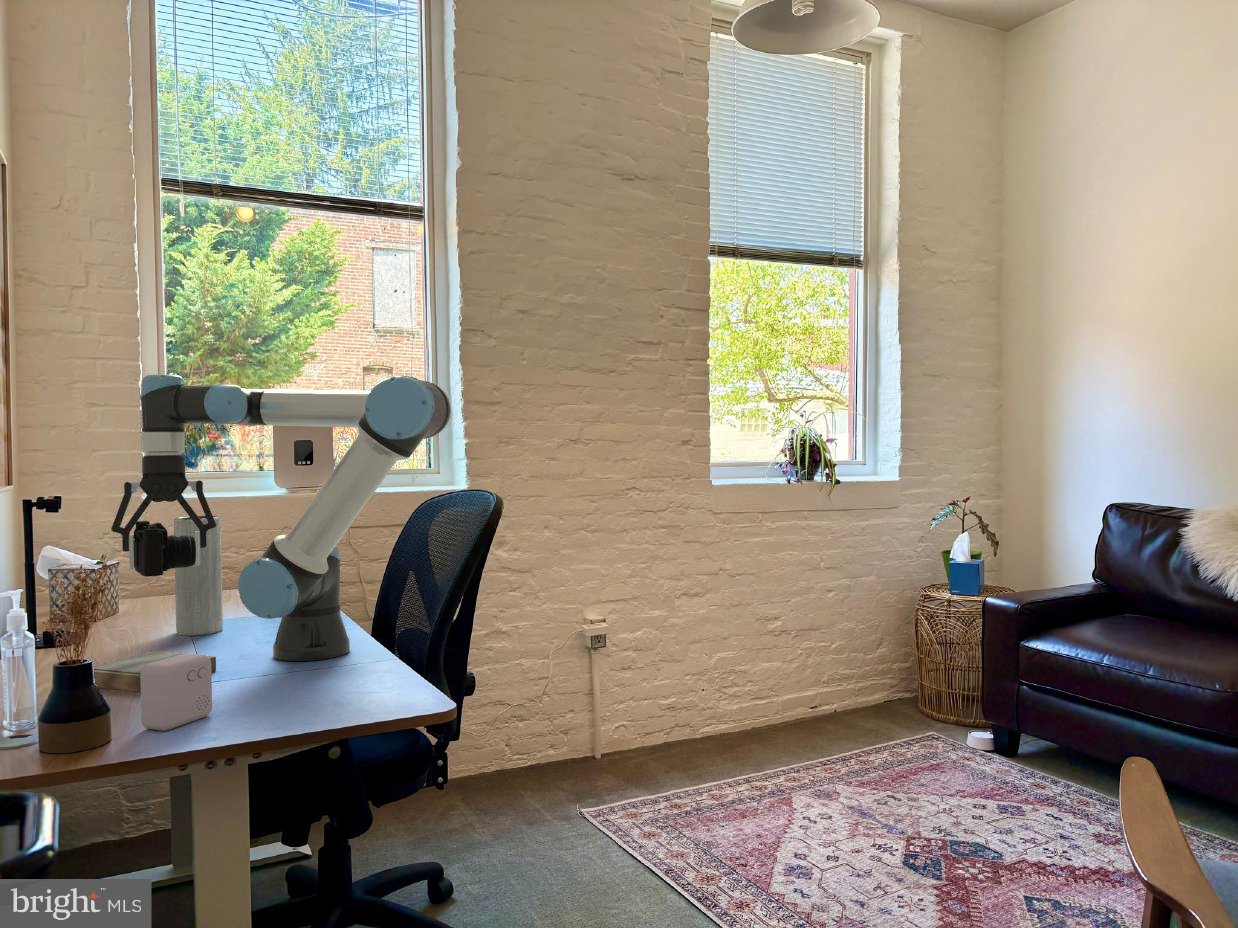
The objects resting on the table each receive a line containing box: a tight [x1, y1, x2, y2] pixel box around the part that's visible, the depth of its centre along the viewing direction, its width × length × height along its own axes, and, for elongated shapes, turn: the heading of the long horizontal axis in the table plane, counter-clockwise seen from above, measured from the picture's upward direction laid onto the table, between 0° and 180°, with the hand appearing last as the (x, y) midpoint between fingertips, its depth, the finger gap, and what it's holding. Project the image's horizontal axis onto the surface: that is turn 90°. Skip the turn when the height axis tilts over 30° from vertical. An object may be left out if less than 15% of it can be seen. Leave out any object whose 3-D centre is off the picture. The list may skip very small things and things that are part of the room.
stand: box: [93, 650, 217, 693], centre depth 169 cm, size 16×16×3 cm
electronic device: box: [140, 652, 213, 732], centre depth 141 cm, size 10×5×10 cm, turn 158°
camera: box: [133, 520, 196, 578], centre depth 176 cm, size 14×11×10 cm
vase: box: [173, 515, 224, 637], centre depth 212 cm, size 10×10×27 cm
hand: (165, 566), depth 177 cm, fingers closed on camera, 11 cm apart
